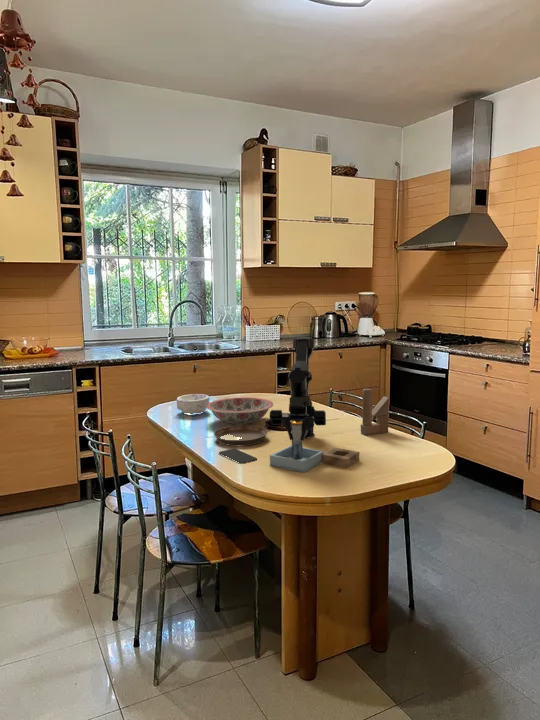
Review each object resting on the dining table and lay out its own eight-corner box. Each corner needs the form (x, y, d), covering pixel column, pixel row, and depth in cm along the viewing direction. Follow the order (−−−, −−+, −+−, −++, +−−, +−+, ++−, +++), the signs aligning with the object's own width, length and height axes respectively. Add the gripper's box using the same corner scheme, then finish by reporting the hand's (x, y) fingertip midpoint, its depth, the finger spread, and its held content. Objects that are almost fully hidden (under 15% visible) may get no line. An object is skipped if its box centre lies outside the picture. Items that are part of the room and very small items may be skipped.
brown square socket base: (322, 463, 176) (322, 454, 176) (335, 456, 183) (335, 447, 183) (346, 468, 171) (346, 459, 170) (359, 460, 178) (359, 451, 178)
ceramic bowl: (194, 427, 224) (193, 409, 223) (225, 412, 251) (225, 395, 250) (257, 433, 213) (257, 414, 212) (283, 416, 240) (283, 399, 239)
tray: (270, 465, 175) (269, 455, 174) (291, 455, 185) (291, 445, 185) (303, 472, 167) (303, 462, 167) (324, 461, 178) (324, 451, 177)
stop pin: (289, 457, 177) (288, 420, 175) (299, 455, 179) (298, 419, 177) (295, 460, 173) (294, 423, 172) (305, 458, 175) (305, 421, 174)
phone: (240, 463, 177) (217, 452, 189) (240, 465, 177) (217, 454, 189) (258, 458, 181) (234, 448, 193) (258, 461, 181) (234, 450, 193)
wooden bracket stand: (388, 432, 211) (389, 388, 209) (365, 435, 207) (365, 390, 205) (383, 430, 215) (383, 386, 212) (360, 433, 211) (360, 388, 208)
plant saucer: (250, 451, 192) (249, 442, 191) (203, 443, 202) (203, 435, 201) (277, 436, 209) (277, 428, 209) (233, 430, 219) (232, 422, 219)
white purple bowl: (170, 415, 246) (170, 399, 245) (188, 408, 260) (187, 392, 258) (199, 418, 240) (198, 401, 239) (215, 411, 254) (215, 394, 253)
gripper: (269, 386, 178) (265, 427, 169) (325, 386, 176) (324, 428, 166) (272, 404, 187) (269, 443, 178) (326, 404, 184) (325, 444, 175)
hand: (296, 439), depth 174 cm, fingers closed on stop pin, 4 cm apart
